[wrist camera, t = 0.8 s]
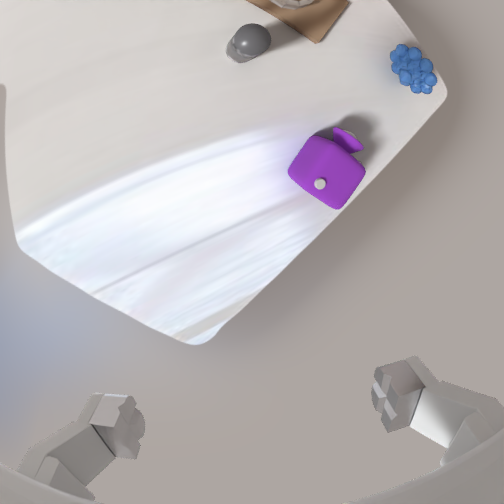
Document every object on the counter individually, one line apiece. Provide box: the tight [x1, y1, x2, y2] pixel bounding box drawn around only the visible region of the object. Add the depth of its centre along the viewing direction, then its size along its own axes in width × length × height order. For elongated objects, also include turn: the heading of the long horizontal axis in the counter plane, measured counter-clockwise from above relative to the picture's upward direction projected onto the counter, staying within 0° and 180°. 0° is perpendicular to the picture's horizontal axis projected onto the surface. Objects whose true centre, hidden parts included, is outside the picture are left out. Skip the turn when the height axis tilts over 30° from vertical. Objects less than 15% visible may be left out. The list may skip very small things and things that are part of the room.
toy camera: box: [288, 127, 366, 209], centre depth 47 cm, size 11×14×10 cm
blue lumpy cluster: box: [390, 44, 437, 94], centre depth 38 cm, size 12×7×12 cm, turn 43°
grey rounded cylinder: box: [226, 24, 271, 63], centre depth 34 cm, size 5×5×10 cm
